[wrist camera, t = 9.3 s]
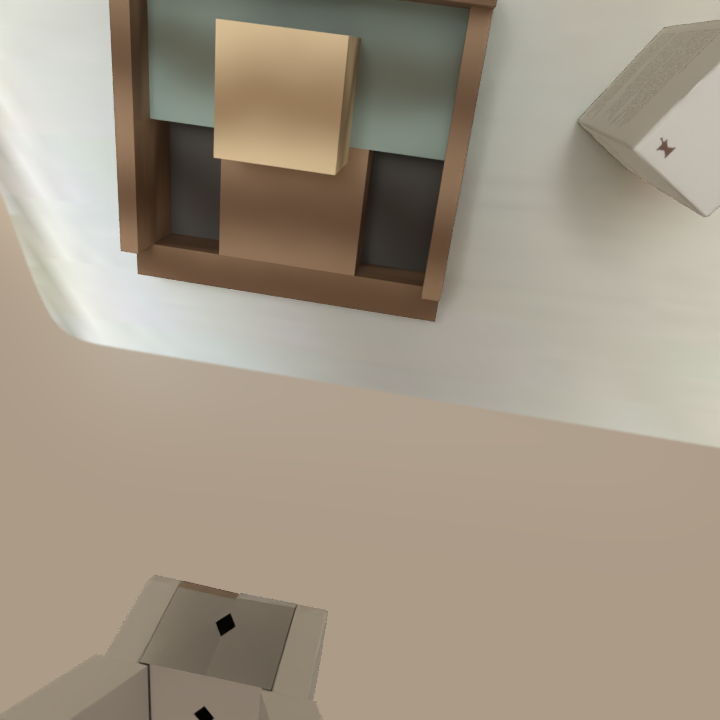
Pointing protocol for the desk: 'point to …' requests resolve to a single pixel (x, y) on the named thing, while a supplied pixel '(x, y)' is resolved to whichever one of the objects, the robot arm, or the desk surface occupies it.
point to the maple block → (284, 96)
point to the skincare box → (668, 115)
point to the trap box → (290, 186)
